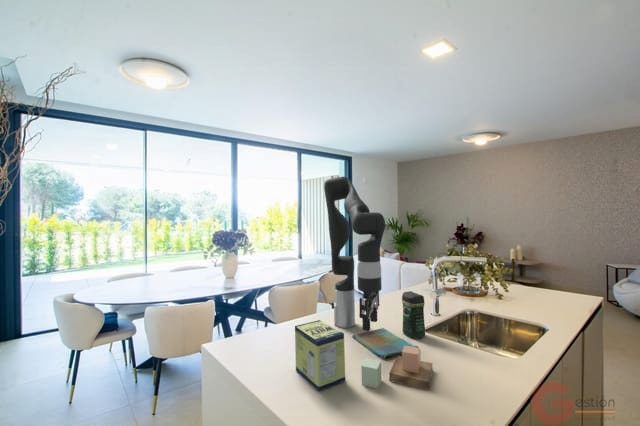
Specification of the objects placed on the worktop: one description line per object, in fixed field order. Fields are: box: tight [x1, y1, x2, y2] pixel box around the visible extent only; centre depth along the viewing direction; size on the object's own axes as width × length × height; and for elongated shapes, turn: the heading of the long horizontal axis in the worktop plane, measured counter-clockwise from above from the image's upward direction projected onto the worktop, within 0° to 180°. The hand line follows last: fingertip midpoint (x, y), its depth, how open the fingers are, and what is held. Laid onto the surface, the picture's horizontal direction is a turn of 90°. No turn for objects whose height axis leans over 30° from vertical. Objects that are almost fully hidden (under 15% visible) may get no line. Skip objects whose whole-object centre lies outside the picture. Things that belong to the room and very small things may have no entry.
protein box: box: [294, 319, 346, 392], centre depth 99 cm, size 10×16×16 cm
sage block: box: [361, 358, 382, 389], centre depth 94 cm, size 5×5×6 cm
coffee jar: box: [401, 290, 426, 339], centre depth 130 cm, size 10×8×19 cm
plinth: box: [388, 356, 434, 390], centre depth 98 cm, size 12×12×2 cm
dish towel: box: [351, 327, 419, 361], centre depth 122 cm, size 17×23×2 cm
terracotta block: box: [401, 346, 421, 373], centre depth 98 cm, size 5×5×6 cm
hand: (370, 325), depth 94 cm, fingers open, 8 cm apart
